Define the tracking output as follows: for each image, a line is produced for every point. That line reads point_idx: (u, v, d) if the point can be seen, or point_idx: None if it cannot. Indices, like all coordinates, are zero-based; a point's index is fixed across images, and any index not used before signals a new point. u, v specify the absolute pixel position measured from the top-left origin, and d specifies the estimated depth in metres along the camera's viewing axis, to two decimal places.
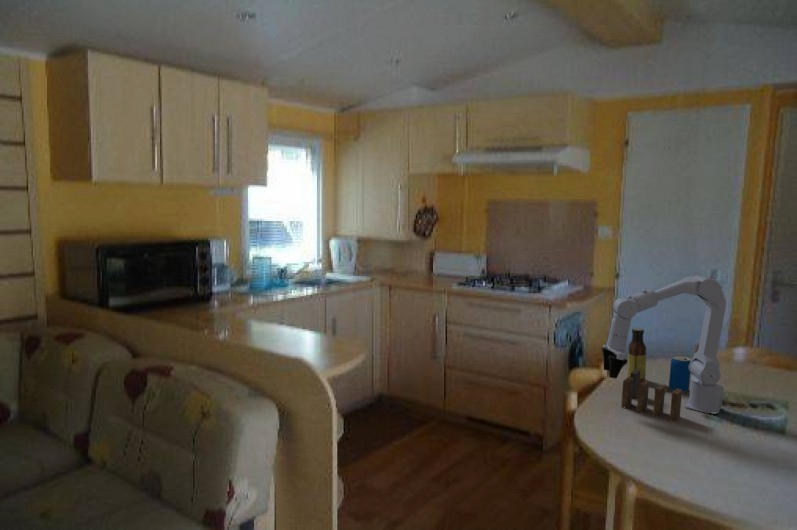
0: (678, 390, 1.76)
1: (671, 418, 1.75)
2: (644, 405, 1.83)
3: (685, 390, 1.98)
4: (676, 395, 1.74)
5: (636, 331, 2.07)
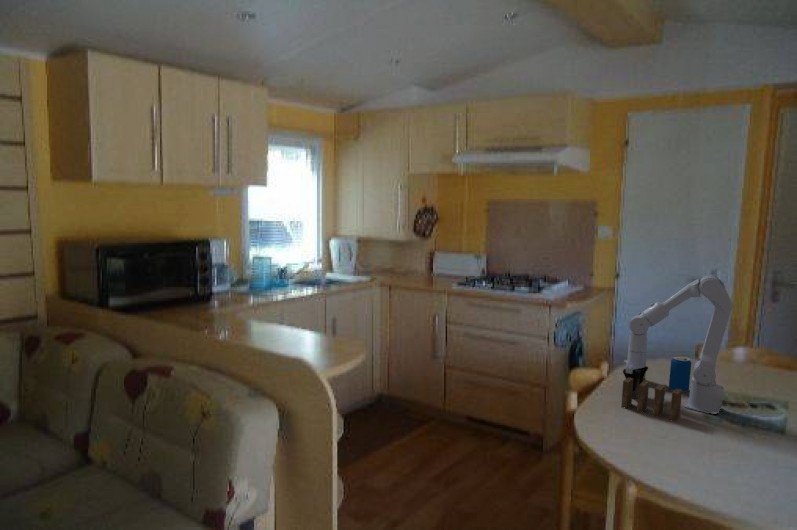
0: (678, 390, 1.76)
1: (671, 418, 1.75)
2: (644, 405, 1.83)
3: (685, 390, 1.98)
4: (676, 395, 1.74)
5: None
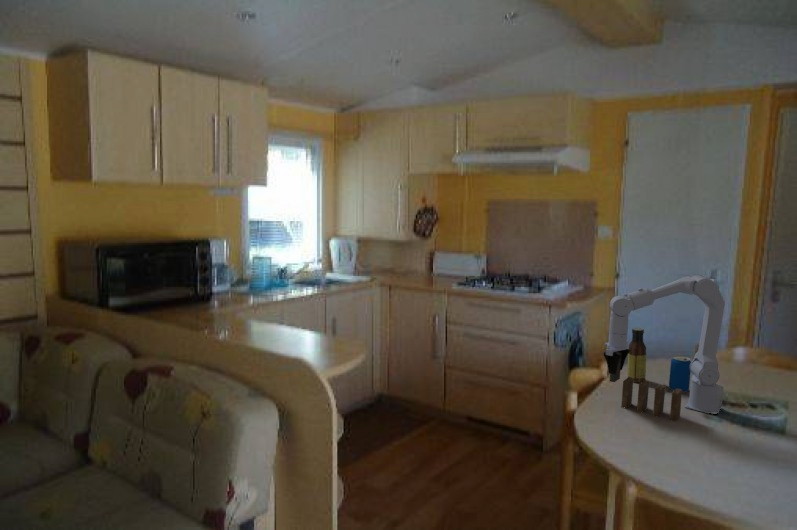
0: (678, 390, 1.76)
1: (671, 418, 1.75)
2: (644, 405, 1.83)
3: (685, 390, 1.98)
4: (676, 395, 1.74)
5: (636, 331, 2.07)
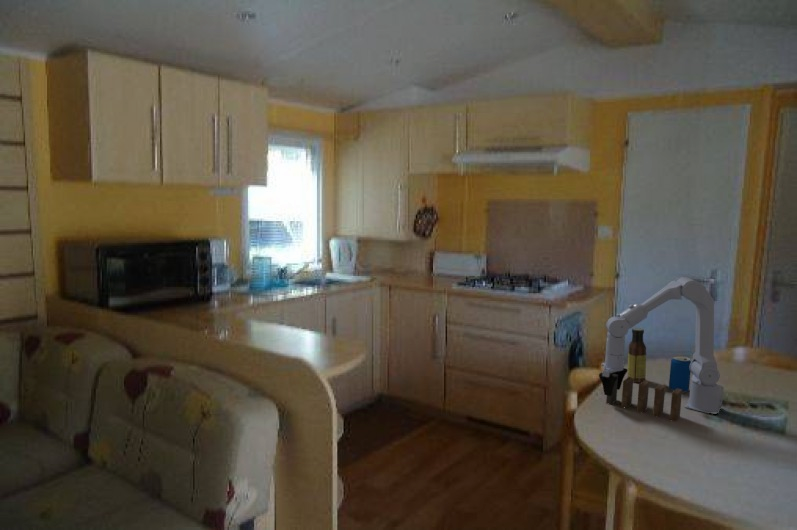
0: (678, 390, 1.76)
1: (671, 418, 1.75)
2: (644, 405, 1.83)
3: (685, 390, 1.98)
4: (676, 395, 1.74)
5: (636, 331, 2.07)
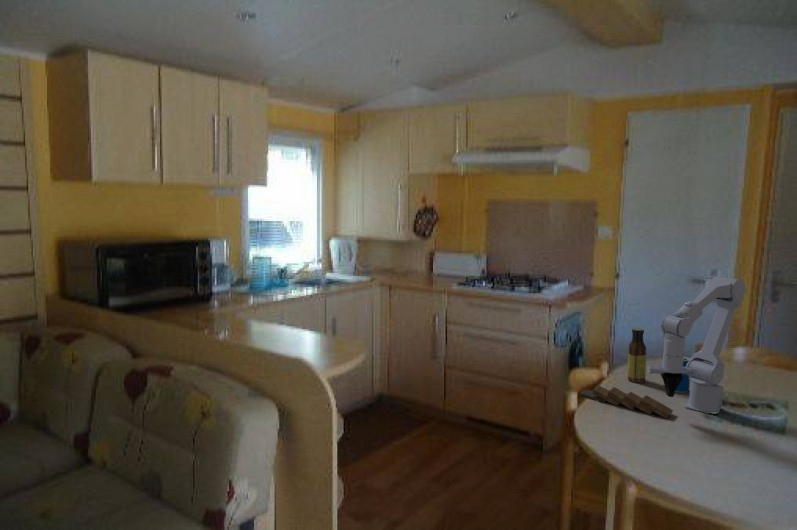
0: None
1: (665, 416, 1.77)
2: None
3: (685, 390, 1.98)
4: (642, 401, 1.81)
5: (636, 331, 2.07)
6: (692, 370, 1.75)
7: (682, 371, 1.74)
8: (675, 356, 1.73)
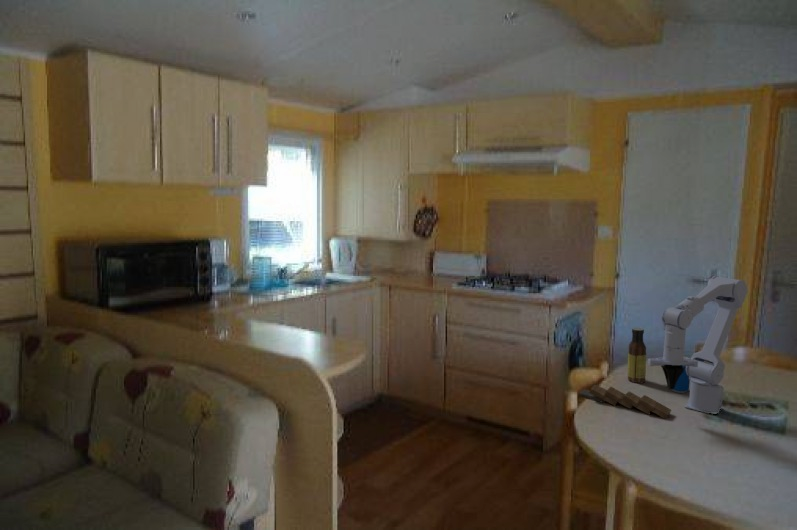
0: (642, 397, 1.84)
1: (663, 416, 1.77)
2: None
3: (685, 390, 1.98)
4: (640, 400, 1.81)
5: (636, 331, 2.07)
6: (693, 362, 1.74)
7: (683, 363, 1.73)
8: (676, 348, 1.72)
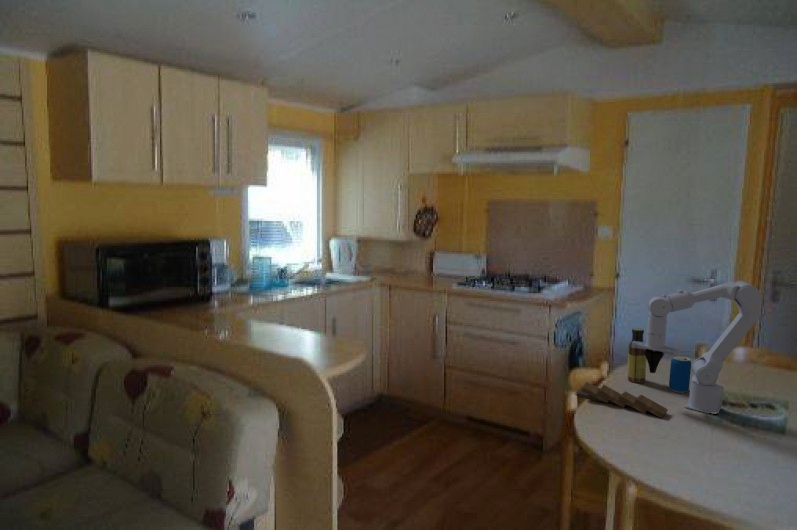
0: (638, 397, 1.84)
1: (659, 416, 1.77)
2: None
3: (685, 390, 1.98)
4: (637, 400, 1.81)
5: (636, 331, 2.07)
6: (672, 351, 1.83)
7: (659, 349, 1.84)
8: (651, 333, 1.85)
